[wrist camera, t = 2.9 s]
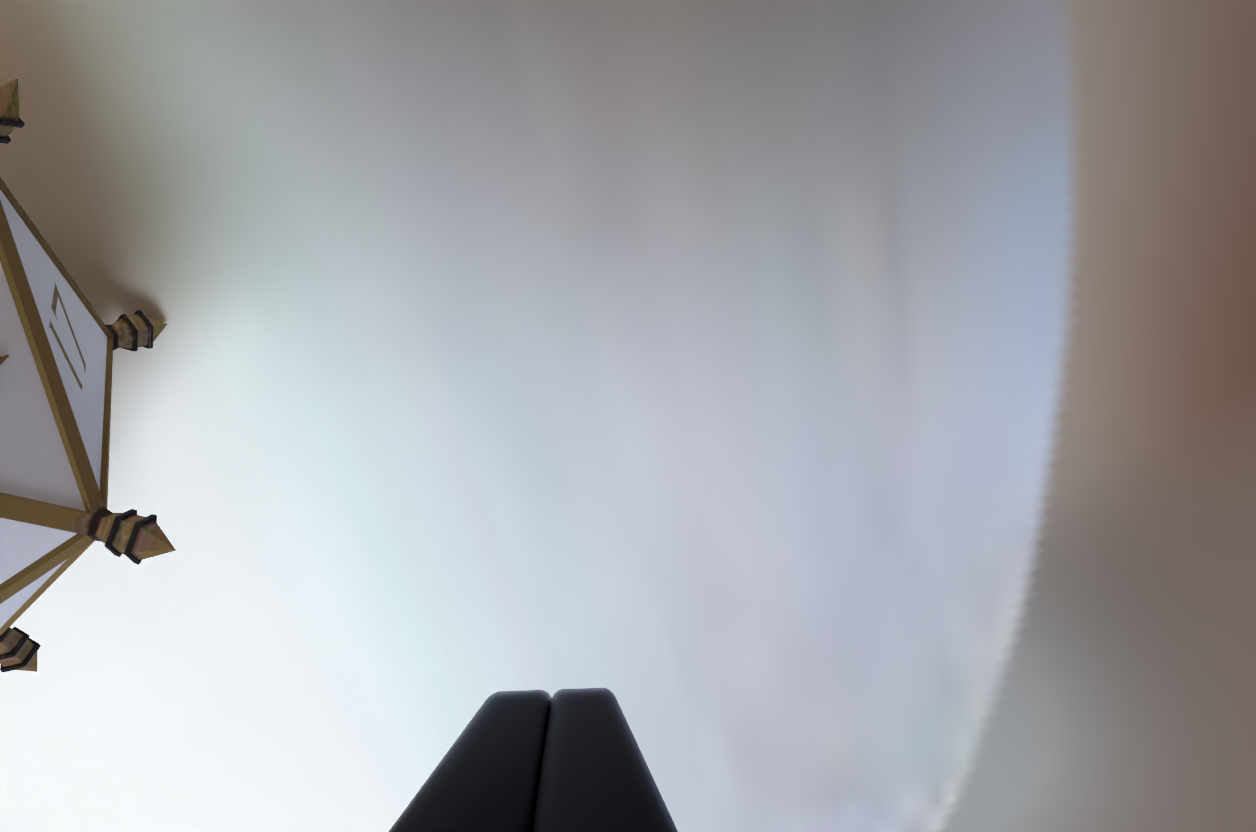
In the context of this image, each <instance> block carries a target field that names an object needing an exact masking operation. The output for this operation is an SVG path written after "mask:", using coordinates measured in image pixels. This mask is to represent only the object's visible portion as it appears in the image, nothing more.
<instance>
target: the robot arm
mask: <svg viewBox="0 0 1256 832" xmlns="http://www.w3.org/2000/svg"><path fill="white" fill-rule="evenodd" d="M389 832H678V831H677V829H676V827H675V825H674V822H673V820H672V818H671V816H670V814H669V812H668V809H667V807H666V805H665V803H664V801H663V799H662V797H661V794H660V792H659V790H658V788H657V786H656V784H655V781H654V779H653V777H652V775H651V773H650V771H649V769H648V766H647V764H646V762H645V760H644V758H643V756H642V753H641V751H640V749H639V747H638V745H637V743H636V741H635V738H634V736H633V734H632V732H631V730H630V728H629V725H628V723H627V721H626V719H625V717H624V715H623V713H622V710H621V708H620V706H619V704H618V702H617V700H616V698H615V696H614V694H613V693H612V692H611V691H610V690H608V689H606V688H588V689H562V690H559V691H557V692H556V693H555V694H554V696H553V698H551V696H550V695H549V694H548V693H547V692H545V691H543V690H530V691H502V692H497V693H494V694H493V695H491V696H490V697H488V699H487V700H486V701H485V702H484V704H483V705H482V706H481V708H480V709H479V711H478V712H477V713H476V715H475V716H474V717H473V719H472V720H471V721H470V723H469V724H468V725H467V727H466V728H465V729H464V731H463V732H462V734H461V735H460V736H459V738H458V739H457V740H456V742H455V743H454V744H453V746H452V747H451V748H450V750H449V751H448V752H447V754H446V755H445V757H444V758H443V759H442V761H441V762H440V763H439V765H438V766H437V767H436V769H435V770H434V771H433V773H432V774H431V775H430V777H429V778H428V780H427V781H426V782H425V784H424V785H423V786H422V788H421V789H420V790H419V792H418V793H417V794H416V796H415V797H414V798H413V800H412V801H411V803H410V804H409V805H408V807H407V808H406V809H405V811H404V812H403V813H402V815H401V816H400V817H399V819H398V820H397V821H396V823H395V824H394V825H393V827H392V828H391V830H390V831H389Z"/></svg>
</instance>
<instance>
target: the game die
mask: <svg viewBox="0 0 1256 832" xmlns="http://www.w3.org/2000/svg"><path fill="white" fill-rule="evenodd" d="M24 125H25V124H24V122H23V121H22V120H21V119H20V114H19V96H18V79H16V80H13V81H10V82H6V83H3V84H0V143H6V144H8V143H9V142H10V141H11V139H10V138H9V136H8V135H9V134H10V133H11V131H12V130H13V129H14V128H15V127H19V128H22V127H23V126H24ZM166 325H167V324H165V323H163V322H161V321H158V320H156V319H153V318H151V317H149V316H146V315H144V314H143V313H142V311H141V310H137V311H136V312H135V313H134V315H132V316H128V317H127V316H126V314H122V315H121V316H120V317H119V319H118V320H117V321H116V322H115V323H113V324H111V325H105V324H104V323H103V322H102V320H101V319H100V317H99V316H98V314H97V313H96V312H95V310H94V309H93V307H92V306H91V305H90V303H89V302H88V300H87V299H86V298H85V296H84V295H83V293H82V292H81V291H80V289H79V288H78V286H77V285H76V283H75V282H74V281H73V279H72V278H71V276H70V275H69V274H68V272H67V271H66V269H65V268H64V267H63V265H62V264H61V262H60V261H59V260H58V258H57V257H56V255H55V254H54V252H53V251H52V250H51V248H50V247H49V245H48V244H47V243H46V241H45V240H44V238H43V237H42V236H41V234H40V233H39V231H38V230H37V229H36V227H35V226H34V224H33V223H32V221H31V220H30V219H29V217H28V216H27V214H26V213H25V212H24V210H23V209H22V207H21V206H20V205H19V203H18V202H17V200H16V199H15V198H14V196H13V195H12V193H11V192H10V190H9V189H8V188H7V186H6V185H5V183H4V182H3V181H2V179H1V178H0V664H1V669H0V670H1V671H2V672H6V671H10V670H26V671H37V650H38V649H39V647H40V645H39V644H38V643H36V642H35V641H33V640H31V639H30V638H29V635H27V634H26V633H24V632H23V631H21V630H19V629H18V628H16V627H14V628H13V629H11V628H10V626H11V625H12V624H13V623H14V622H15V620H16V619H17V618H18V617H19V616H20V615H21V614H22V613H23V612H24V611H25V610H26V609H27V608H28V607H29V606H30V605H31V604H32V603H33V602H34V601H35V600H36V599H37V598H38V597H39V596H40V595H41V594H42V593H43V592H44V591H45V590H46V589H47V588H48V587H49V586H50V585H51V584H52V583H53V582H54V581H55V580H56V579H57V578H58V577H59V576H60V575H61V574H62V573H63V572H64V571H65V570H66V569H67V568H68V567H69V566H70V565H71V564H72V563H73V562H74V561H75V560H76V559H77V558H78V557H79V556H80V555H81V554H82V553H83V552H84V551H85V550H86V549H87V548H88V547H89V546H90V545H91V544H92V543H93V542H94V541H95V540H96V541H102V542H104V543H105V547H106V548H107V549H109V550H110V551H111V552H112V553H113V554H114V555H116V556H119V557H120V556H121V554H125V555H126V556H127V557H128V558H130V559H131V560H132V561H133V562H134V563H136V564H139V563H140V562H141V560H142V559H145V558H149V557H153V556H156V555H160V554H164V553H167V552H171V551H175V549H174V547H173V546H172V544H171V543H170V542H169V540H168V539H167V537H166V536H165V534H164V533H163V532H162V530H161V529H160V527H159V526H158V525H157V523H156V520H157V516H156V515H150V516H148V517H142V516H138V515H137V510H133V509H131V510H129V511H127V512H125V513H112V512H110V511H109V510H107V495H108V468H109V441H110V414H111V387H112V360H113V350H115V349H116V348H123V349H127V350H131V351H137V347H146V348H153V341H154V340H155V339H156V338H157V336H158V335H159V334H160V333H161V331H162V330H163V329H164V328H165V326H166Z"/></svg>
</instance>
